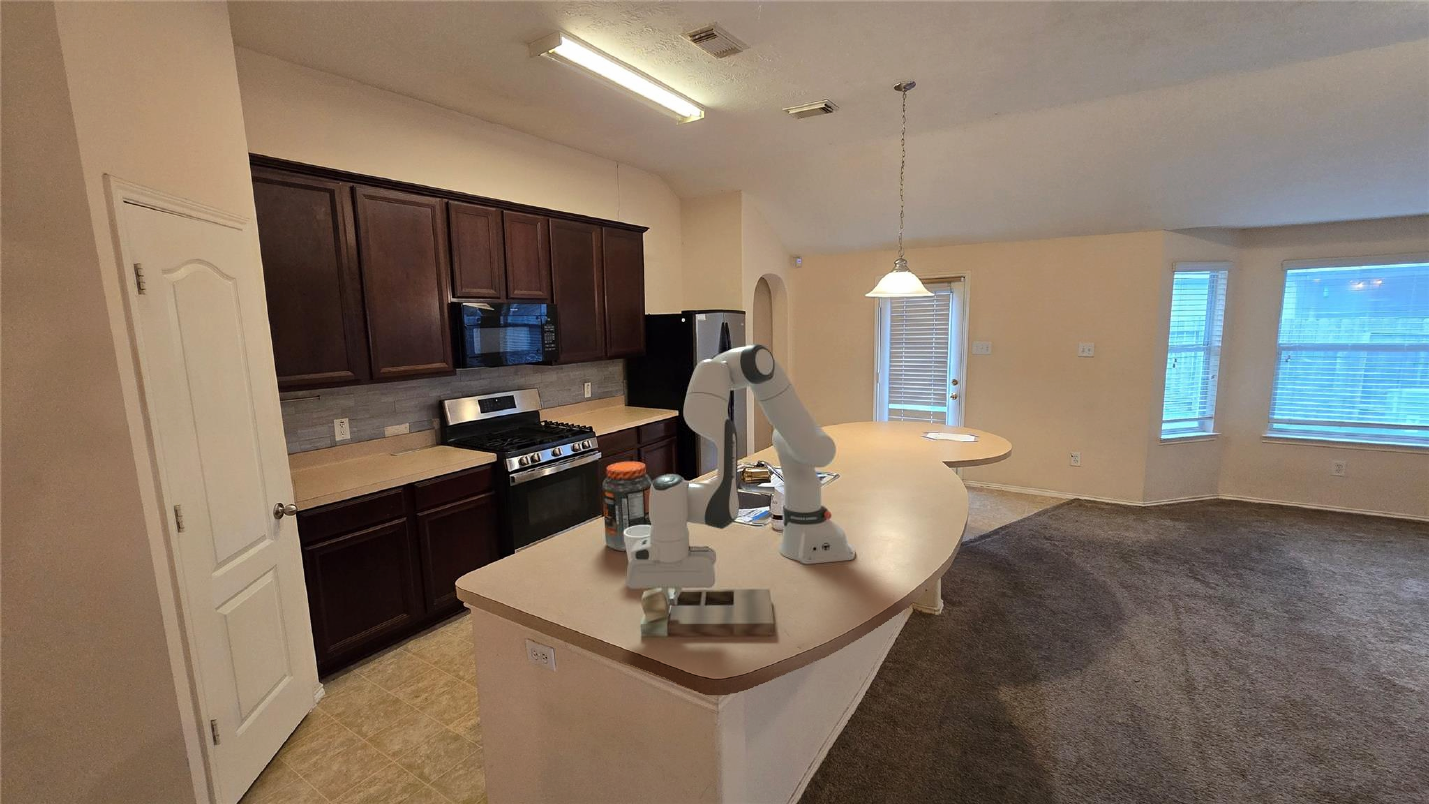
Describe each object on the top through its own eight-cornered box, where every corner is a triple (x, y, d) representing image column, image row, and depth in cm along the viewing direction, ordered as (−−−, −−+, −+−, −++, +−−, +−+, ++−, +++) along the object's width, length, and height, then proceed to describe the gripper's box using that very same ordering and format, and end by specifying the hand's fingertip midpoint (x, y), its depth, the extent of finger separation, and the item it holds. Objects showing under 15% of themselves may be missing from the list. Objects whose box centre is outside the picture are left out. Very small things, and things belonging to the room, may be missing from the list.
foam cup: (665, 571, 156) (663, 528, 154) (645, 585, 148) (643, 539, 146) (639, 565, 161) (637, 523, 159) (618, 578, 153) (616, 533, 151)
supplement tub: (608, 535, 185) (604, 461, 181) (655, 533, 186) (652, 458, 182) (602, 554, 169) (597, 473, 166) (653, 551, 170) (649, 471, 167)
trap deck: (769, 600, 138) (769, 589, 138) (774, 635, 122) (773, 623, 122) (651, 601, 139) (651, 590, 139) (641, 636, 123) (640, 624, 123)
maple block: (670, 605, 128) (664, 586, 128) (668, 616, 123) (661, 596, 123) (650, 610, 129) (644, 591, 128) (647, 622, 124) (640, 602, 123)
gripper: (716, 540, 127) (717, 596, 129) (628, 542, 128) (631, 597, 129) (715, 551, 121) (716, 610, 122) (623, 553, 121) (626, 611, 123)
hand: (672, 604), depth 126 cm, fingers closed
